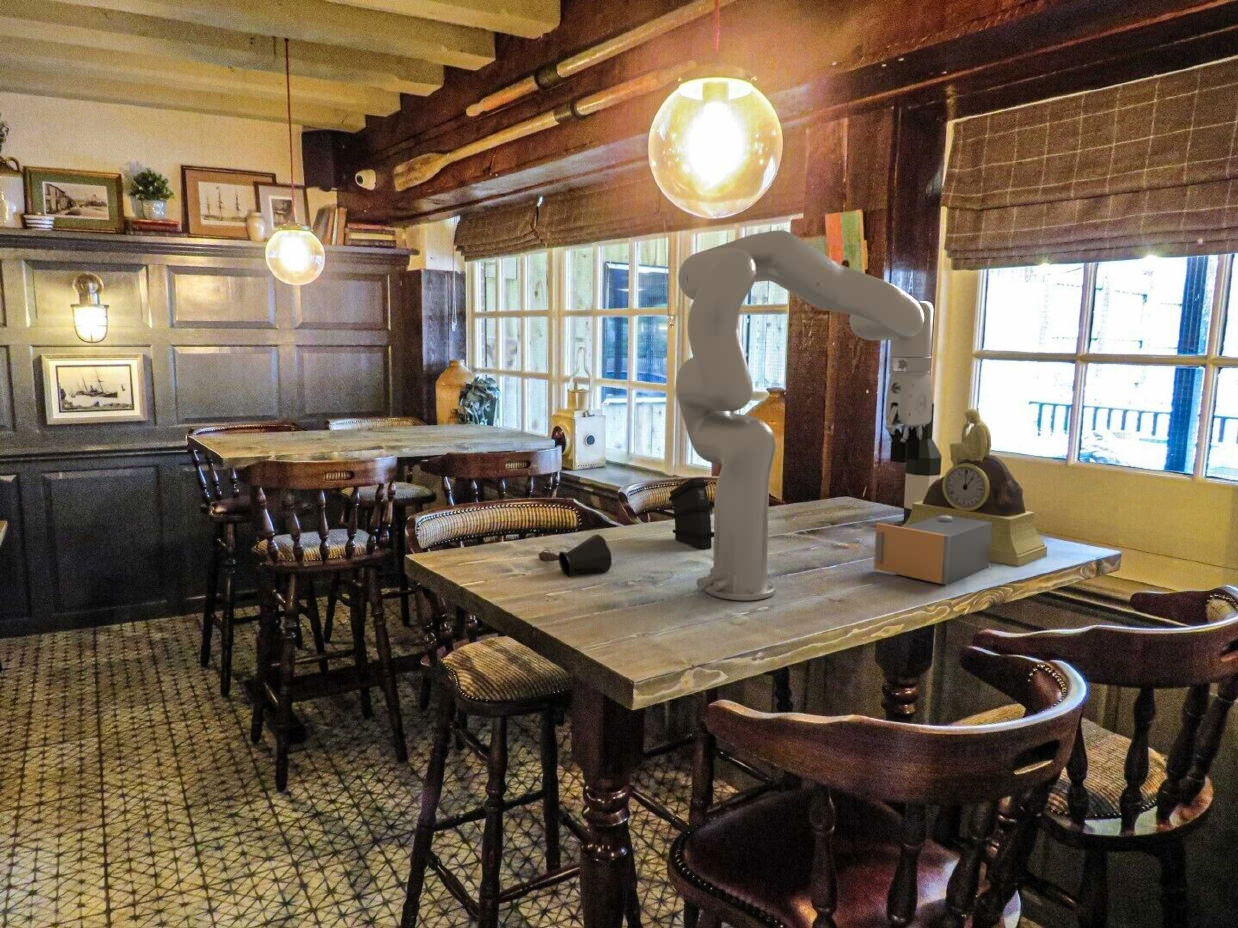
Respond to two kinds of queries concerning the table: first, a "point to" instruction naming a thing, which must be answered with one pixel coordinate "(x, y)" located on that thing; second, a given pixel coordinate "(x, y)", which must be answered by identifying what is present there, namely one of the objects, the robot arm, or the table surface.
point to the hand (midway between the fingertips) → (905, 459)
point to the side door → (912, 552)
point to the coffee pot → (583, 557)
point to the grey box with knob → (961, 543)
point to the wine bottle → (922, 470)
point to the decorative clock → (983, 497)
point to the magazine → (692, 514)
